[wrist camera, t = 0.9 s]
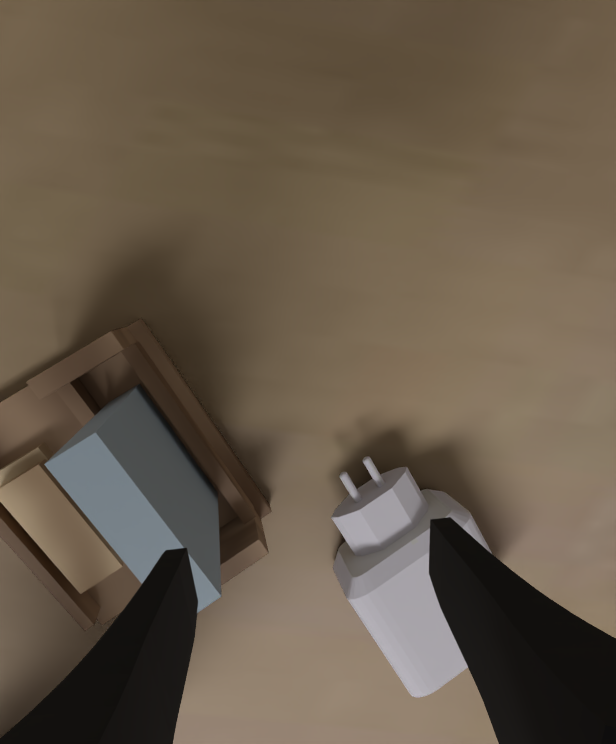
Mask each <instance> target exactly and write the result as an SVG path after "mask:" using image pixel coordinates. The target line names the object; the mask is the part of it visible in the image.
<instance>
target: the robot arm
mask: <svg viewBox="0 0 616 744" xmlns="http://www.w3.org/2000/svg"><path fill="white" fill-rule="evenodd" d="M429 575H430V579H431V582H432V585H433V588H434V591H435V594H436V597H437V600H438V602H439V605H440V608H441V610H442V612H443V615H444V617H445V619H446V621H447V623H448V625H449V627H450V630H451V632H452V634H453V636H454V638H455V640H456V642H457V645H458V647H459V649H460V651H461V653H462V655H463V657H464V659H465V662H466V664H467V666H468V668H469V670H470V672H471V674H472V676H473V679H474V681H475V683H476V685H477V687H478V690H479V692H480V695H481V697H482V699H483V702H484V704H485V707H486V710H487V712H488V715H489V718H490V720H491V723H492V726H493V729H494V731H495V734H496V737H497V740H498V742H499V744H616V638H614V637H612V636H610V635H608V634H607V633H605V632H603V631H601V630H600V629H598V628H596V627H594V626H592V625H591V624H589V623H587V622H586V621H584V620H582V619H581V618H579V617H577V616H576V615H574V614H572V613H571V612H569V611H568V610H566V609H565V608H563V607H562V606H560V605H559V604H557V603H556V602H554V601H553V600H551V599H549V598H548V597H547V596H545V595H544V594H542V593H541V592H539V591H538V590H537V589H535V588H534V587H533V586H531V585H530V584H529V583H527V582H526V581H525V580H523V579H522V578H521V577H519V576H518V575H517V574H516V573H514V572H513V571H512V570H510V569H509V568H508V567H507V566H506V565H504V564H503V563H502V562H501V561H500V560H498V559H497V558H496V557H495V556H494V555H492V554H491V553H490V552H489V551H488V550H487V549H485V548H484V547H483V546H482V545H481V544H480V543H479V542H478V541H476V540H475V539H474V538H473V537H472V536H471V535H470V534H469V533H468V532H466V531H465V530H464V529H463V528H462V527H461V526H460V525H459V524H458V523H456V522H455V521H454V520H453V519H452V518H451V517H447V518H439V519H430V544H429ZM197 608H198V598H197V593H196V588H195V584H194V579H193V574H192V569H191V565H190V560H189V555H188V550H187V548H179V549H171V550H165V552H164V553H163V554H162V555H161V557H160V558H159V560H158V561H157V563H156V564H155V566H154V567H153V569H152V570H151V572H150V573H149V575H148V576H147V578H146V579H145V580H144V582H143V583H142V585H141V586H140V588H139V589H138V590H137V592H136V593H135V595H134V596H133V597H132V599H131V600H130V601H129V603H128V604H127V605H126V607H125V608H124V610H123V611H122V612H121V614H120V615H119V616H118V617H117V619H116V620H115V621H114V622H113V624H112V625H111V626H110V627H109V629H108V630H107V631H106V632H105V634H104V635H103V636H102V637H101V639H100V640H99V641H98V642H97V643H96V645H95V646H94V647H93V648H92V649H91V650H90V652H89V653H88V654H87V655H86V656H85V657H84V658H83V659H82V661H81V662H80V663H79V664H78V665H77V666H76V667H75V668H74V669H73V670H72V671H71V673H70V674H69V675H68V676H67V677H66V678H65V679H64V680H63V681H62V682H61V683H60V684H59V685H58V686H57V687H56V688H55V689H54V690H53V691H52V692H51V693H50V694H49V695H48V696H47V697H46V698H44V699H43V700H42V701H41V702H40V703H39V704H38V705H37V706H36V707H35V708H34V709H33V710H32V711H31V712H30V713H29V714H28V715H27V716H26V717H24V718H23V719H22V720H21V721H20V722H19V723H18V724H16V725H15V726H14V727H13V728H12V729H11V730H10V731H9V732H7V733H6V734H5V735H4V736H3V737H1V738H0V744H173V739H174V733H175V727H176V722H177V718H178V713H179V708H180V704H181V699H182V694H183V690H184V685H185V681H186V676H187V671H188V667H189V662H190V657H191V652H192V648H193V643H194V638H195V629H196V619H197Z"/></svg>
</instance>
